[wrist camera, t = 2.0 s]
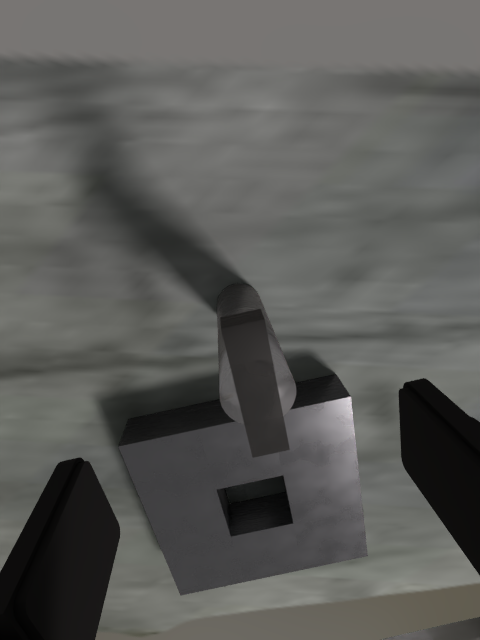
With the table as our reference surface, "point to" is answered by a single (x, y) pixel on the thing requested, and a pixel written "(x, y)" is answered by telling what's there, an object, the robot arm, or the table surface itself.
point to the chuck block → (239, 468)
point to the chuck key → (253, 370)
